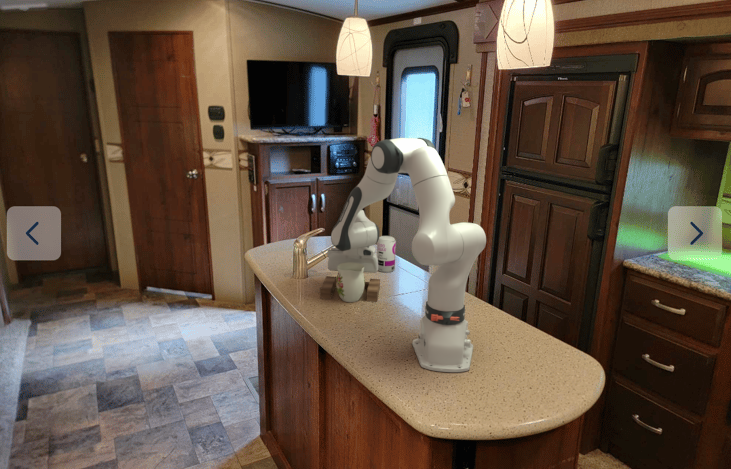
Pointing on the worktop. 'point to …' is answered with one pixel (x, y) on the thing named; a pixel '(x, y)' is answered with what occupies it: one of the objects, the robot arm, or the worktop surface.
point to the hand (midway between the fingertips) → (352, 281)
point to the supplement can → (386, 253)
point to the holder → (371, 288)
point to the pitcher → (350, 281)
